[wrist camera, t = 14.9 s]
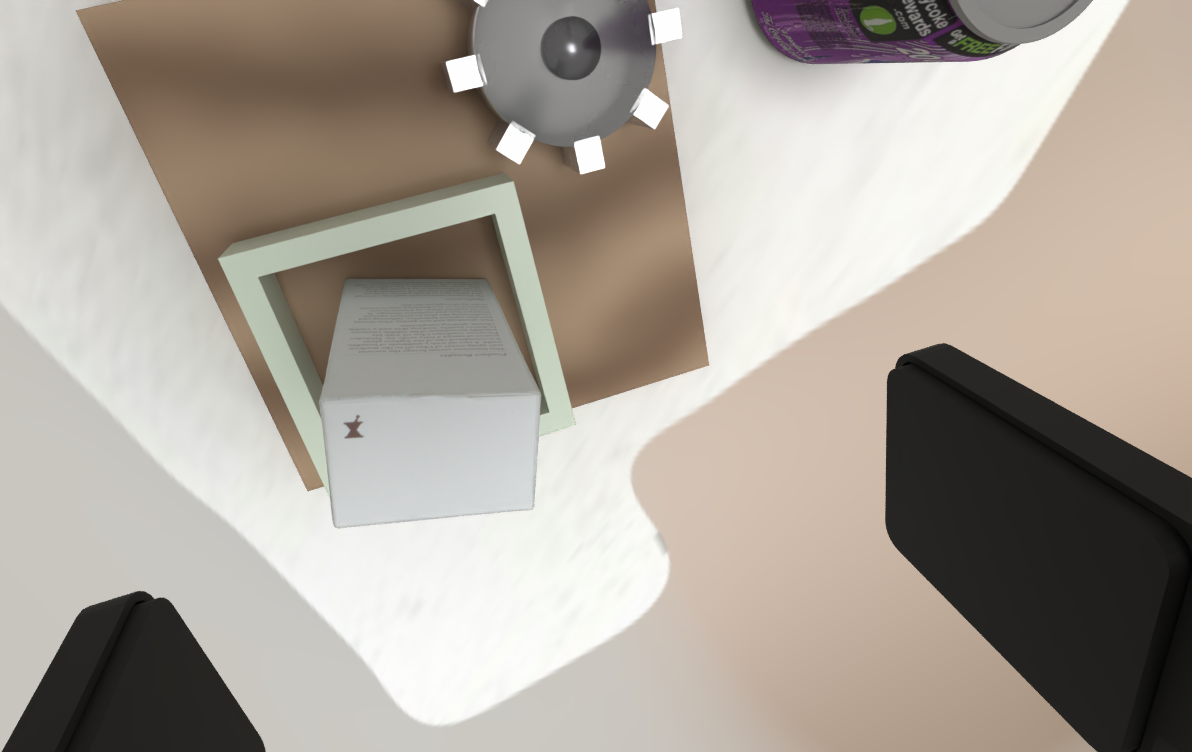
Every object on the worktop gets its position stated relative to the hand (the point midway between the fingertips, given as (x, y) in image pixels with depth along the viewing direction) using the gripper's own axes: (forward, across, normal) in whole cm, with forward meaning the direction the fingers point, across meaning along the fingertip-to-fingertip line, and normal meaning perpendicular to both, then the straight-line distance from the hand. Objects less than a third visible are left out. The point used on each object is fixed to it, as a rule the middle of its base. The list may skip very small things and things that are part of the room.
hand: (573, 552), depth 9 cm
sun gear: (+23, -5, -5) cm, 24 cm away
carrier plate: (+24, 0, +1) cm, 24 cm away
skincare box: (+22, +3, +5) cm, 23 cm away
